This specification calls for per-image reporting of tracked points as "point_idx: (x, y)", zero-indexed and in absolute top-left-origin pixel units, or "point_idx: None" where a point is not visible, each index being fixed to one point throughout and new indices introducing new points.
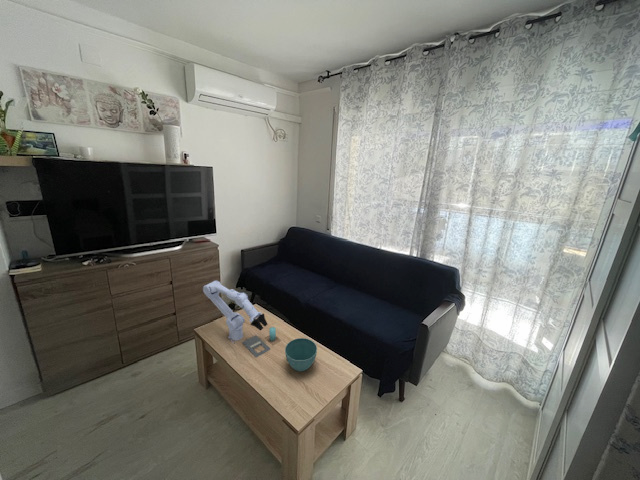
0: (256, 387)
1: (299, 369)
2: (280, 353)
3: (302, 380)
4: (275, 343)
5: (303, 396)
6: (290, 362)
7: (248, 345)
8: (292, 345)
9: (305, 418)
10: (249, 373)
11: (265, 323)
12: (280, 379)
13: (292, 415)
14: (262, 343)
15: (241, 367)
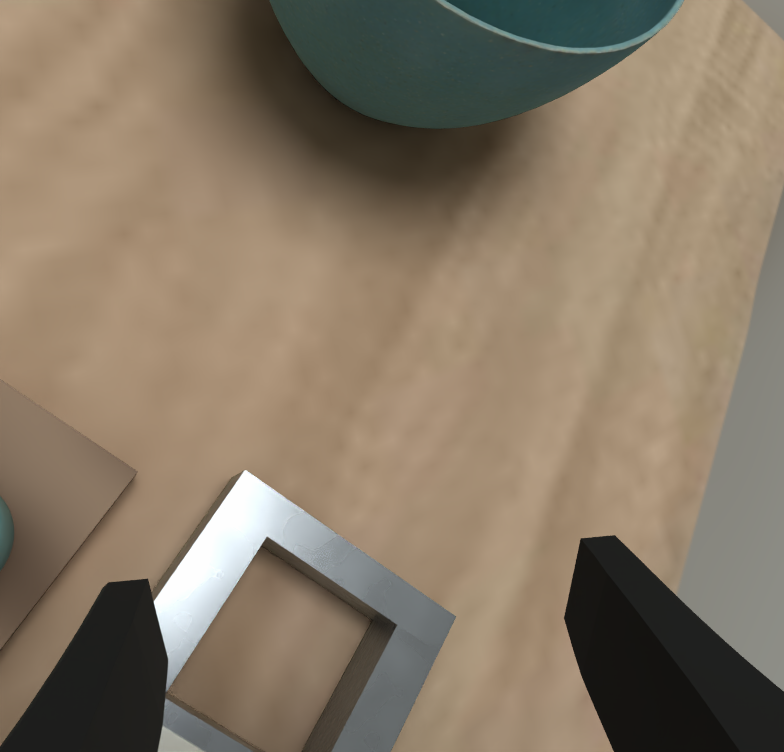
0: (711, 425)
1: (542, 5)
2: (236, 317)
3: None
4: (67, 440)
5: None
6: (623, 35)
7: None
8: (341, 10)
9: (756, 26)
10: None
11: (139, 669)
12: (578, 231)
13: (771, 102)
14: None
15: (585, 733)
